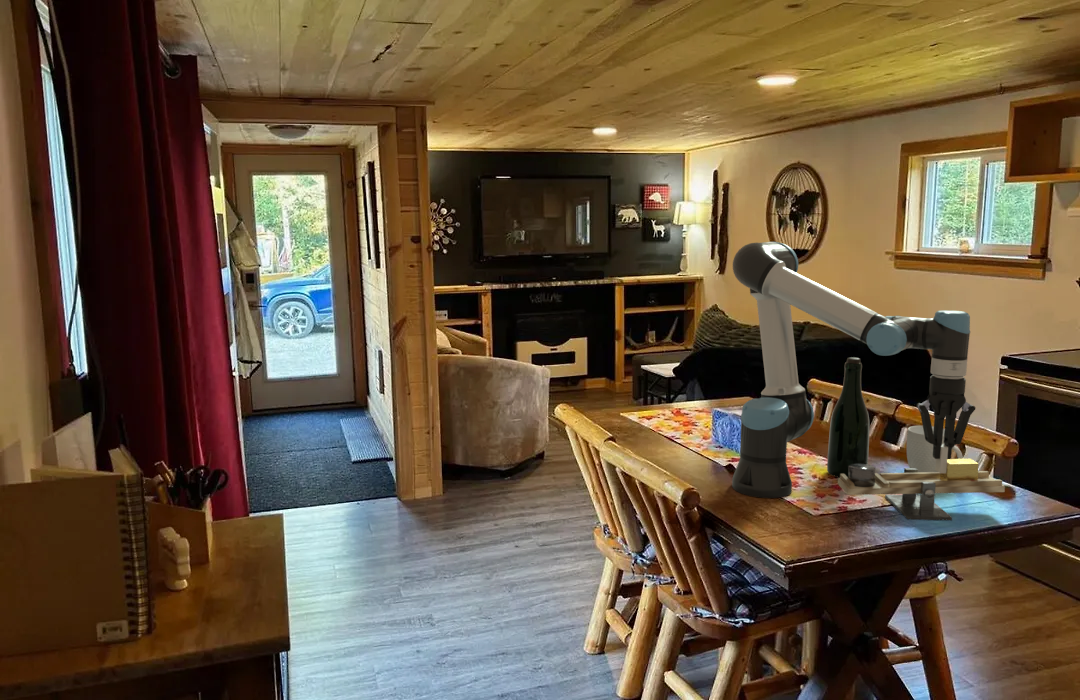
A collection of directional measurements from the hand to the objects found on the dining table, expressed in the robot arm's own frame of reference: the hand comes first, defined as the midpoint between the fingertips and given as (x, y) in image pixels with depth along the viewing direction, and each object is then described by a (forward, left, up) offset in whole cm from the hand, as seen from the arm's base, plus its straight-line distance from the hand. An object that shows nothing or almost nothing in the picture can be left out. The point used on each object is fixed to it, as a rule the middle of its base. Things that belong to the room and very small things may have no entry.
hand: (940, 471), depth 187 cm
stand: (-5, 0, -10) cm, 11 cm away
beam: (-5, 0, -4) cm, 6 cm away
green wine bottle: (-14, +26, -10) cm, 31 cm away
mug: (+8, +25, -10) cm, 28 cm away
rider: (+4, 0, -2) cm, 5 cm away
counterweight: (-18, 0, -3) cm, 19 cm away
